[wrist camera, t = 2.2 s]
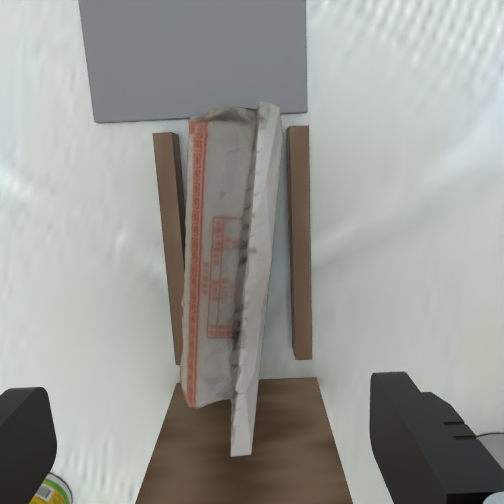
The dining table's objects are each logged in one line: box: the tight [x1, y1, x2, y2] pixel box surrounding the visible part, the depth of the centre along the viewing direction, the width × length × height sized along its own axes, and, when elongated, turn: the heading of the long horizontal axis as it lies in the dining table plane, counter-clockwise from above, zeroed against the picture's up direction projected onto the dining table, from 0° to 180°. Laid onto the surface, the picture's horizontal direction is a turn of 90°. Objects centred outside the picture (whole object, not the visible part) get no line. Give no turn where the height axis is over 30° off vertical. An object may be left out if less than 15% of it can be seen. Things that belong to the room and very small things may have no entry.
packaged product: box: [180, 102, 283, 457], centre depth 23 cm, size 18×5×10 cm, turn 175°
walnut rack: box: [135, 126, 353, 504], centre depth 22 cm, size 11×20×14 cm, turn 3°
